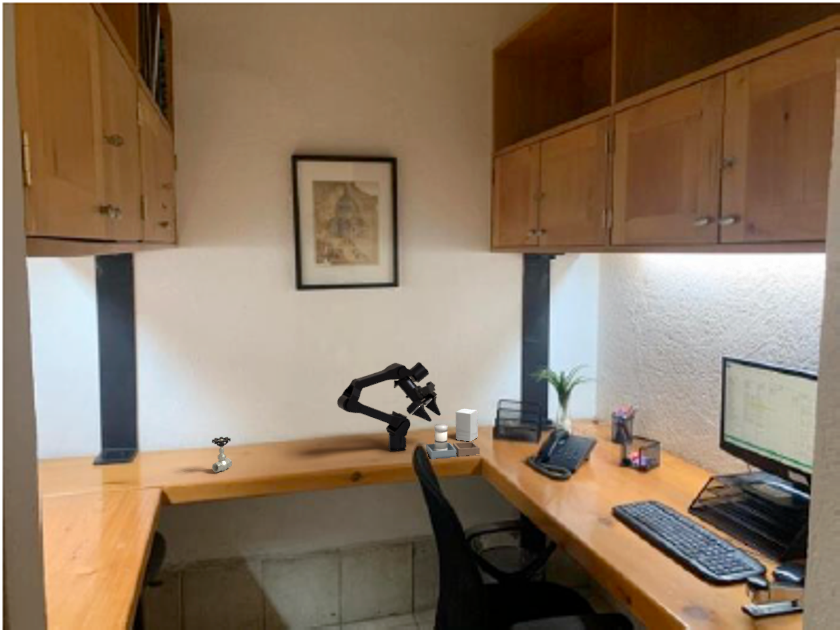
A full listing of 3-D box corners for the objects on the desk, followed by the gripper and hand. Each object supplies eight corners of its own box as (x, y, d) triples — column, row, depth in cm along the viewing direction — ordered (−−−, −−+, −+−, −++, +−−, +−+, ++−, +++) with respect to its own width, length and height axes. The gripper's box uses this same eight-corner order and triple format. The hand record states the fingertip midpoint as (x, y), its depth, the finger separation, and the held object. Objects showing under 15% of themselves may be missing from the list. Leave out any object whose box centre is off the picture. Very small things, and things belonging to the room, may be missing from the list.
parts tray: (431, 459, 250) (431, 451, 249) (426, 451, 259) (426, 444, 259) (456, 457, 252) (456, 450, 252) (449, 449, 262) (449, 442, 261)
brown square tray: (458, 456, 253) (458, 449, 252) (453, 450, 261) (453, 443, 261) (479, 455, 255) (479, 447, 254) (473, 448, 263) (473, 441, 263)
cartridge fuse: (436, 454, 253) (436, 427, 251) (433, 450, 258) (433, 424, 257) (448, 454, 254) (448, 426, 253) (445, 450, 259) (445, 423, 258)
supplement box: (478, 438, 278) (478, 410, 276) (470, 442, 271) (470, 413, 270) (463, 435, 282) (463, 407, 280) (455, 440, 275) (455, 411, 274)
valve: (209, 471, 236) (208, 440, 235) (222, 466, 242) (221, 435, 241) (222, 474, 233) (221, 442, 232) (235, 469, 239) (234, 438, 237)
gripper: (413, 381, 251) (439, 411, 247) (432, 372, 267) (457, 400, 264) (395, 399, 255) (421, 429, 252) (415, 388, 272) (439, 416, 268)
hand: (435, 418), depth 259 cm, fingers open, 9 cm apart
